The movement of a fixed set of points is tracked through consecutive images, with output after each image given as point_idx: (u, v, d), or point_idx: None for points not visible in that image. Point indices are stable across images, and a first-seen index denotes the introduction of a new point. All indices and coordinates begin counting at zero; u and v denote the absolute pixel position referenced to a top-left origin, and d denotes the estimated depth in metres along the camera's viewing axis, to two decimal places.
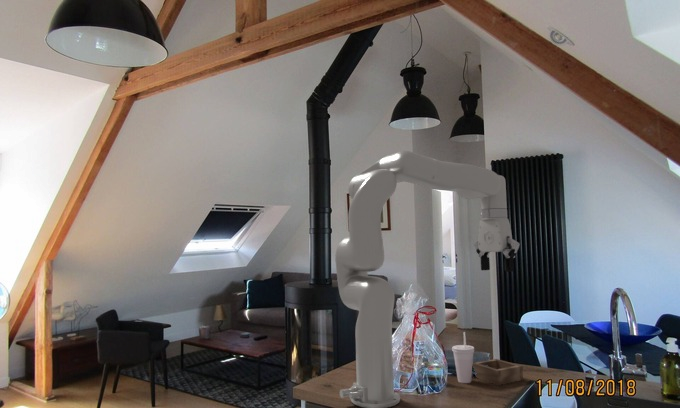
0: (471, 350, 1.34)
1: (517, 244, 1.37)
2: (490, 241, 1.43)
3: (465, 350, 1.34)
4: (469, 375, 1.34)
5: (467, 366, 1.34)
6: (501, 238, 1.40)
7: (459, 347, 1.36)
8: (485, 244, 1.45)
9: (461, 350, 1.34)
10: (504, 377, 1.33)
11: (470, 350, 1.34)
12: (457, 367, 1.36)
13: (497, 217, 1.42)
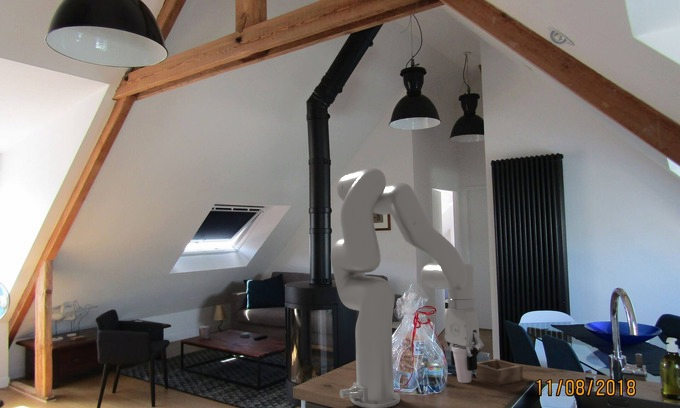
0: (471, 349, 1.35)
1: (481, 346, 1.30)
2: (457, 333, 1.35)
3: (465, 350, 1.34)
4: (469, 375, 1.35)
5: None
6: (467, 333, 1.32)
7: (459, 347, 1.37)
8: (451, 335, 1.37)
9: (461, 350, 1.34)
10: (504, 377, 1.33)
11: None
12: (457, 367, 1.36)
13: (463, 309, 1.34)
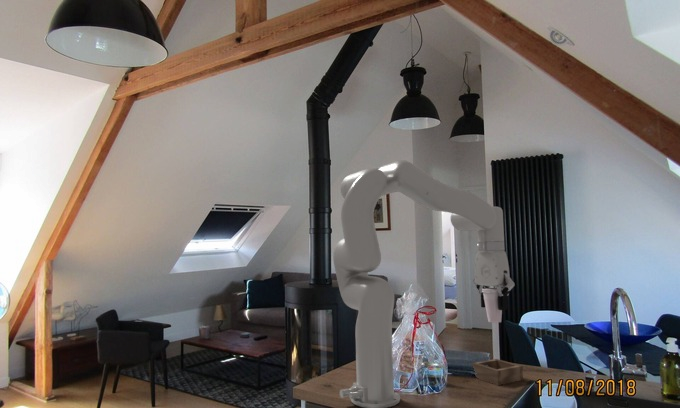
0: None
1: (512, 284, 1.34)
2: (487, 275, 1.39)
3: (495, 290, 1.37)
4: (499, 315, 1.38)
5: None
6: (498, 273, 1.35)
7: (489, 288, 1.40)
8: (482, 278, 1.41)
9: (491, 290, 1.38)
10: (504, 377, 1.33)
11: None
12: (487, 307, 1.39)
13: (494, 250, 1.38)
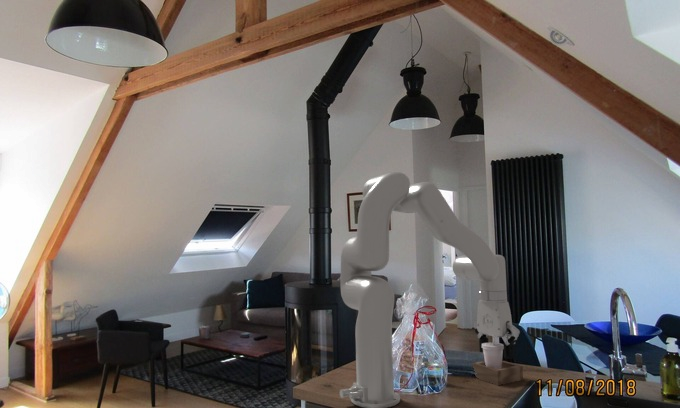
0: (501, 347, 1.37)
1: (517, 332, 1.32)
2: (489, 324, 1.38)
3: (495, 347, 1.37)
4: None
5: (497, 363, 1.37)
6: (500, 324, 1.34)
7: (489, 344, 1.39)
8: (484, 327, 1.39)
9: (491, 347, 1.37)
10: (504, 377, 1.33)
11: (500, 347, 1.37)
12: (487, 364, 1.38)
13: (496, 300, 1.36)
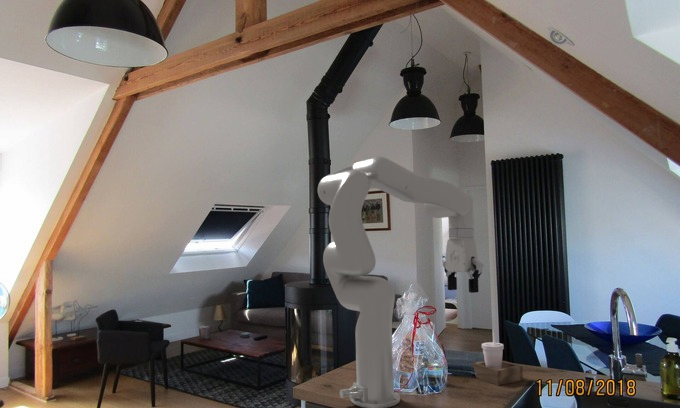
0: (501, 347, 1.37)
1: (481, 265, 1.36)
2: (456, 261, 1.42)
3: (495, 347, 1.37)
4: None
5: (497, 363, 1.37)
6: (465, 259, 1.39)
7: (489, 344, 1.39)
8: (451, 264, 1.44)
9: (491, 347, 1.37)
10: (504, 377, 1.33)
11: (500, 347, 1.37)
12: (487, 364, 1.38)
13: (463, 237, 1.41)
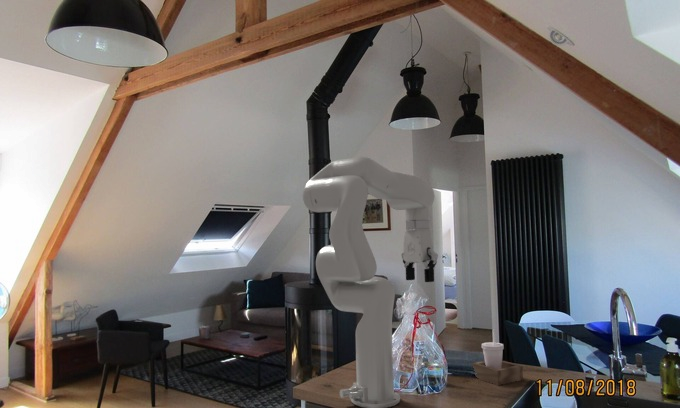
0: (501, 347, 1.37)
1: (435, 255, 1.41)
2: (413, 252, 1.47)
3: (495, 347, 1.37)
4: None
5: (497, 363, 1.37)
6: (421, 249, 1.43)
7: (489, 344, 1.39)
8: (408, 255, 1.48)
9: (491, 347, 1.37)
10: (504, 377, 1.33)
11: (500, 347, 1.37)
12: (487, 364, 1.38)
13: (418, 229, 1.45)
